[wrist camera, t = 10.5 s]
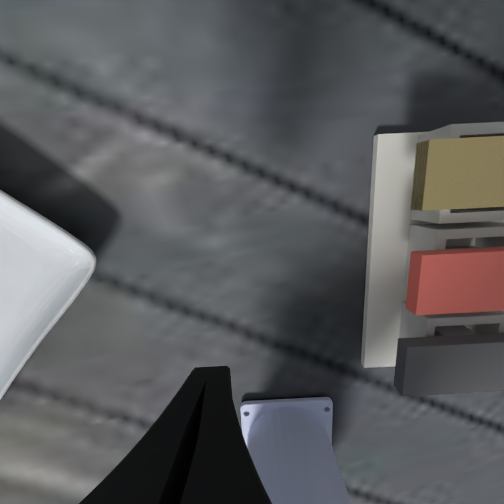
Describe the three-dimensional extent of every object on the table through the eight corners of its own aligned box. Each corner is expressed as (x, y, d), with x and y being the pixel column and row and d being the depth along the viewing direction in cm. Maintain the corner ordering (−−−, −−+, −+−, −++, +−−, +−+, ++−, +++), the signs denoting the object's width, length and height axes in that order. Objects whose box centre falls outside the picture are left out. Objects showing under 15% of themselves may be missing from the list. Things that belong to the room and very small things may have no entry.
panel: (488, 356, 22) (532, 385, 18) (360, 363, 21) (381, 394, 18) (531, 128, 17) (598, 113, 14) (373, 136, 17) (403, 122, 14)
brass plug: (525, 199, 18) (605, 201, 14) (383, 207, 18) (422, 210, 14) (536, 144, 17) (624, 129, 13) (387, 152, 17) (429, 139, 13)
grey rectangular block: (495, 350, 20) (554, 388, 16) (372, 357, 20) (402, 396, 16) (503, 309, 20) (567, 338, 16) (375, 316, 19) (407, 347, 16)
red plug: (515, 282, 19) (586, 306, 15) (380, 289, 19) (415, 315, 15) (525, 234, 18) (602, 246, 14) (383, 241, 18) (422, 255, 14)
